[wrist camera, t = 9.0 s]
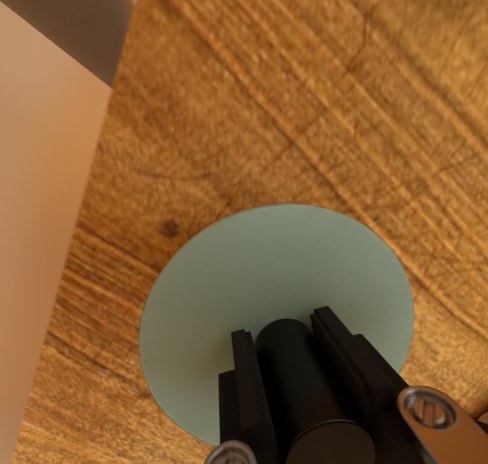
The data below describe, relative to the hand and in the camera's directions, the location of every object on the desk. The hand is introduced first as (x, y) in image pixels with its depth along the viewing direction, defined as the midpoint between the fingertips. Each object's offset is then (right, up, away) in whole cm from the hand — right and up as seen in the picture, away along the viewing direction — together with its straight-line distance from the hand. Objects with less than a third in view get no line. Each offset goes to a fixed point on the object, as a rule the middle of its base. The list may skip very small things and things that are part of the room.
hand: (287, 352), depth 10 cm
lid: (0, 0, +1) cm, 1 cm away
